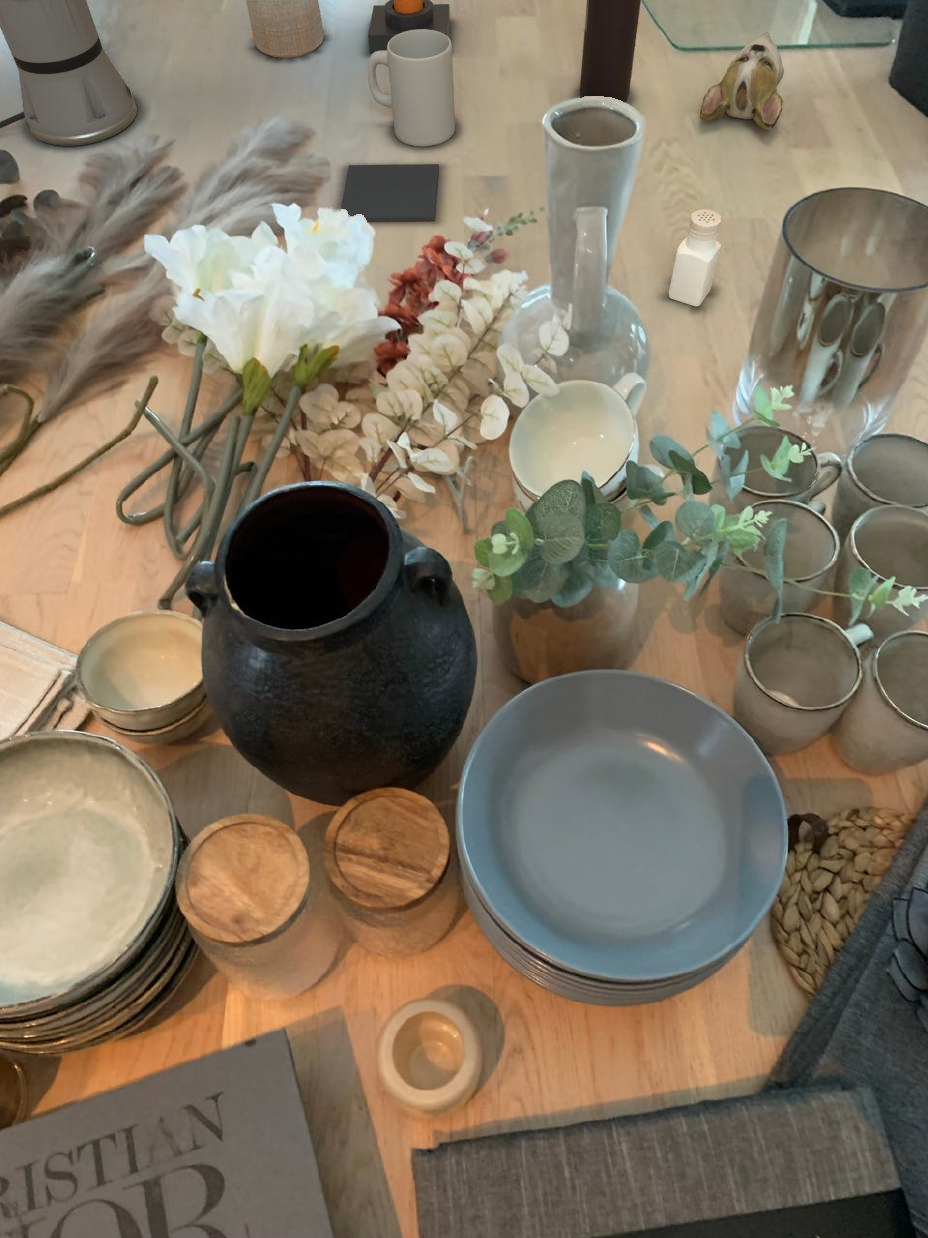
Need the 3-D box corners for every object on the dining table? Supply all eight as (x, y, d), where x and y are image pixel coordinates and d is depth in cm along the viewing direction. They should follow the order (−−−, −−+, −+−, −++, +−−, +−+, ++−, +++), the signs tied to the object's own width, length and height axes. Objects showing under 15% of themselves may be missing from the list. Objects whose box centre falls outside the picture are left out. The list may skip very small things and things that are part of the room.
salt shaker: (665, 299, 98) (680, 221, 90) (679, 280, 100) (695, 202, 92) (698, 309, 97) (716, 232, 89) (712, 290, 99) (731, 212, 91)
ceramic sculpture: (810, 23, 115) (786, 83, 108) (792, 90, 122) (769, 150, 116) (730, 13, 117) (703, 71, 111) (718, 79, 125) (691, 137, 118)
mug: (463, 119, 121) (461, 32, 112) (443, 151, 117) (438, 63, 108) (385, 107, 124) (376, 21, 114) (362, 137, 119) (351, 50, 110)
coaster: (339, 221, 108) (339, 217, 108) (349, 169, 115) (348, 164, 114) (434, 220, 108) (434, 216, 108) (438, 168, 115) (438, 163, 114)
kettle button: (393, 15, 130) (392, -1, 129) (395, 2, 133) (394, -14, 131) (422, 14, 130) (421, -1, 128) (423, 1, 133) (422, -14, 131)
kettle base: (370, 54, 132) (366, 21, 129) (375, 24, 138) (372, -9, 134) (447, 52, 132) (446, 19, 128) (450, 22, 137) (448, -10, 134)
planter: (261, 27, 138) (247, -44, 130) (328, 26, 138) (318, -45, 130) (249, 60, 132) (234, -12, 124) (319, 59, 132) (308, -13, 124)
